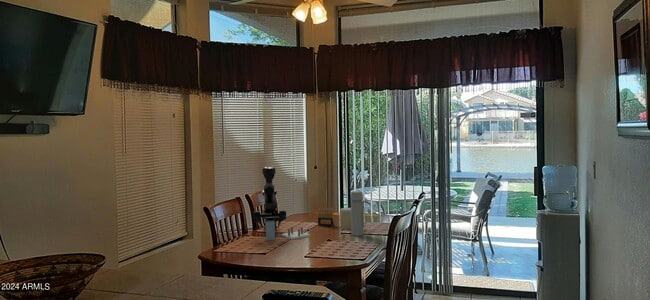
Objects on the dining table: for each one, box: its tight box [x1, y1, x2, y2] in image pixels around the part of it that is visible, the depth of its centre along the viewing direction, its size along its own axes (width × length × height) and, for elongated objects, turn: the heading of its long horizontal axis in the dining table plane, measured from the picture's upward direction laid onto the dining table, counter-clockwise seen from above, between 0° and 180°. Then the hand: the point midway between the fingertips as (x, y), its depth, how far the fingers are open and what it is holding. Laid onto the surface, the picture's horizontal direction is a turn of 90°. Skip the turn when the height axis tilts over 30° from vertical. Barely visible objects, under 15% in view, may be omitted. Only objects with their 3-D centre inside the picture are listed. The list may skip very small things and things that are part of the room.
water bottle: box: [350, 190, 367, 237], centre depth 277 cm, size 9×8×25 cm
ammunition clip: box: [317, 206, 335, 227], centre depth 310 cm, size 11×2×12 cm, turn 69°
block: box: [265, 221, 276, 241], centre depth 273 cm, size 5×5×10 cm
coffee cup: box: [339, 207, 351, 230], centre depth 299 cm, size 9×9×12 cm
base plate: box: [281, 226, 311, 240], centre depth 279 cm, size 12×12×5 cm
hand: (270, 227), depth 271 cm, fingers open, 9 cm apart
